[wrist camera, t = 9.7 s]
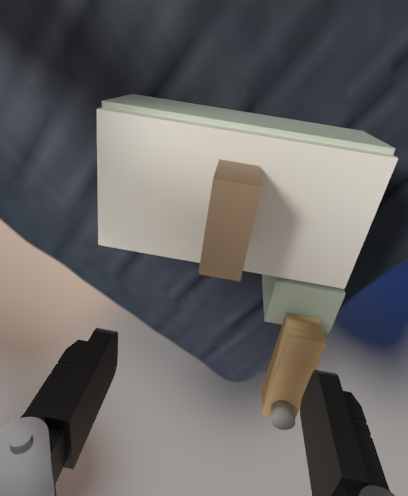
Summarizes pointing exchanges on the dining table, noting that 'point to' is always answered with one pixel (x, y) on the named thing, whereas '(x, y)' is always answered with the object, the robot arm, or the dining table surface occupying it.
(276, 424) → the tan tapered bar
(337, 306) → the light green open box
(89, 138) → the dining table surface
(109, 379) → the robot arm
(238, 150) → the lid
